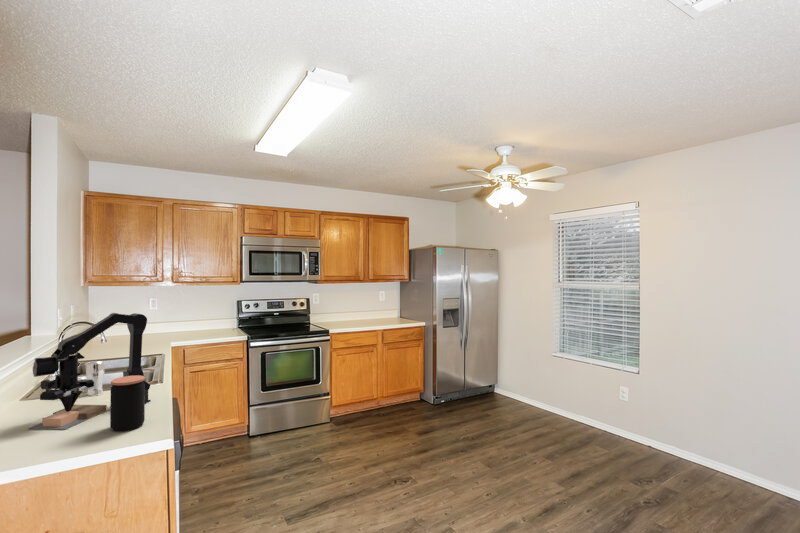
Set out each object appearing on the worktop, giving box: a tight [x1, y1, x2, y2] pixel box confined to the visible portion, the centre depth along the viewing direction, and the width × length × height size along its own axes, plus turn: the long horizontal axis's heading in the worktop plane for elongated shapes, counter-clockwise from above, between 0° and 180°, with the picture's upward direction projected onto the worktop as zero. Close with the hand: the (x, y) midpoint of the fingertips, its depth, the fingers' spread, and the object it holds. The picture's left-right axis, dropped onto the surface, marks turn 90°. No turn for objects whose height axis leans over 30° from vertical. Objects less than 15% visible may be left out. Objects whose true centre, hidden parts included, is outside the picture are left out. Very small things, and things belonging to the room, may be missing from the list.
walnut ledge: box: [52, 404, 107, 421], centre depth 164 cm, size 14×10×2 cm
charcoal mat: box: [28, 419, 88, 431], centre depth 154 cm, size 14×10×1 cm
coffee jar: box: [109, 375, 146, 433], centre depth 152 cm, size 11×11×18 cm
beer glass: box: [85, 360, 105, 397], centre depth 192 cm, size 7×7×15 cm
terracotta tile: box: [42, 411, 79, 427], centre depth 155 cm, size 7×8×3 cm
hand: (68, 411), depth 158 cm, fingers closed
